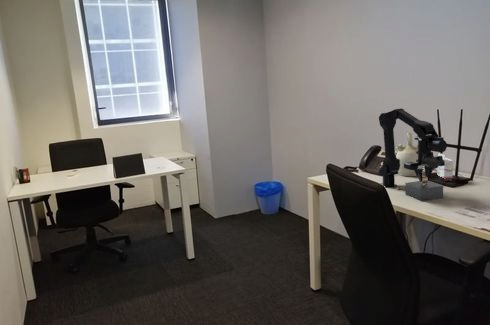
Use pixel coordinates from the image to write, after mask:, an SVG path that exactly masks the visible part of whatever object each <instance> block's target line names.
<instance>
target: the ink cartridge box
mask: <svg viewBox="0 0 490 325" xmlns="http://www.w3.org/2000/svg"><path fill="white" fill-rule="evenodd" d="M437 153H438V155H437V156H442V157H443V160H444V161H445V166H439V167H437V168H436V169H437V172H436V173H437V175H438V176H440V177H442V178H444V179H446V178H454V173H453V172H454V160H453V159H450V158H447V157H446V155H445V154H443V153H441V152H437Z"/></svg>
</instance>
